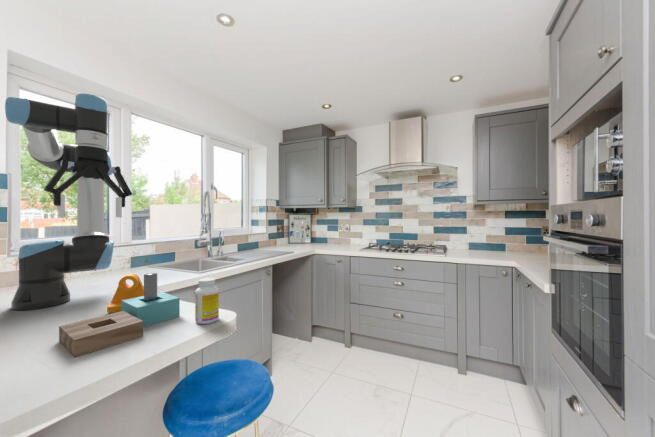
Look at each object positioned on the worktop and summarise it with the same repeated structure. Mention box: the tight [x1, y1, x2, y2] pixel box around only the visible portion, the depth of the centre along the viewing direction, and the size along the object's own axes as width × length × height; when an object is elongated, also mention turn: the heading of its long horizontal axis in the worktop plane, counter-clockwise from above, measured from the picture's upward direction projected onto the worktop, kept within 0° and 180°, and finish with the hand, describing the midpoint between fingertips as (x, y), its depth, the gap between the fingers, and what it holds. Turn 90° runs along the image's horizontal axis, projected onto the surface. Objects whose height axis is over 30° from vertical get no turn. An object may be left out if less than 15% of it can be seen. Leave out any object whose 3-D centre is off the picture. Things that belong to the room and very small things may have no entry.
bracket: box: [106, 273, 144, 314], centre depth 94 cm, size 11×7×12 cm, turn 116°
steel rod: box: [143, 272, 158, 303], centre depth 87 cm, size 4×4×14 cm
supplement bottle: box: [194, 277, 220, 325], centre depth 84 cm, size 7×7×13 cm
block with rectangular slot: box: [121, 291, 181, 328], centre depth 87 cm, size 12×12×6 cm
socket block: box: [58, 311, 144, 358], centre depth 72 cm, size 14×14×4 cm
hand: (92, 217), depth 83 cm, fingers open, 13 cm apart
